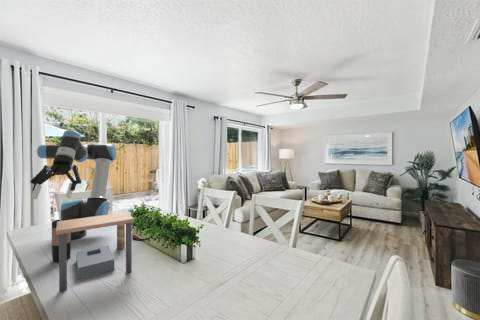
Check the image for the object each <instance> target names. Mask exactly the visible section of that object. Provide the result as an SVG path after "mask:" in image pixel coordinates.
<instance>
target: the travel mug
mask: <svg viewBox="0 0 480 320" xmlns="http://www.w3.org/2000/svg"><path fill="white" fill-rule="evenodd" d="M64 220H70V219H64ZM64 220H61V219H55V220H53V221H51V255H52V257H51V258H52V263H56V264H57V263H58V264H59V234H58V235H56V227H57V221H64ZM66 241H67V261H68V260H70V259H71V250H72V249H71V248H72V240H71V233H66Z"/></svg>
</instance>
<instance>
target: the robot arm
mask: <svg viewBox="0 0 480 320" xmlns="http://www.w3.org/2000/svg"><path fill="white" fill-rule="evenodd" d="M81 135H82V134H80V133H79V132H78V131H76V130H70V129H69V130H66V131H64V132H63V134H62V136H61V139H60V142H59V144H41V145H40V144H39V145H38V147H37V149H36V155H37V157H39V158H40V159H46V160H49V159H50V160H51V159H53V163H52V165H50V166H49V165H47V164H45V165H43V168H42V169H41V170H40V171H39V172H38V173H37V174H36V175H35V176H34V177H33V178H32V179H31V180H30V181H29V182H30V183H31V184H32V185H33V187H32V189H31V190H32V194H31V198H32V199H33V200H38V197H39V195H40V192H41V189H42V185H43V184H44V183H45V182H46V181H48V180H49V179H51V178H53V177H54V176H64V175H66V177H67V178H68V179H69V180H70V182H69V184H68V188H67V191H66V194H65V197H66V198H67V199H71V198H72V194H73V191H75V190H76V188H77V185H78V184H82V179H81V177H80V174H79V167H78V166H77V165H76V164H74V165H73V162H74V161H75V162H77V163H83V162H85V161H86V160H93V162H94V163H95V167H94V174H93V181H92V186H91V191H90V196H89V197H87V199H86V201H84V200H83V199H82V198H80V199H72V200H69V201H64V202H62V204H61V206H60V220H64V219H70V220H72V219H79V218H87V217H94V216H101V215H109V212H110V208H111V206H110V204H111V203H110V201H108V198H107V197H106V194H107V188H108V180H109V173H110V166H111V165H112V164H113V162H114V161H115V160H116V159H117V157H118V155H117V149H116V146H115V145H114V144H113V143H112V144H111V143H84V144H82V143H81ZM71 170H72V173H73V175H74V178H75V179H74V178H73V176H72V175H71V173H70V171H71ZM85 236H87V230H83V231H77V232H71V241H72V240H76V239H80V238H82V237H85Z"/></svg>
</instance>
